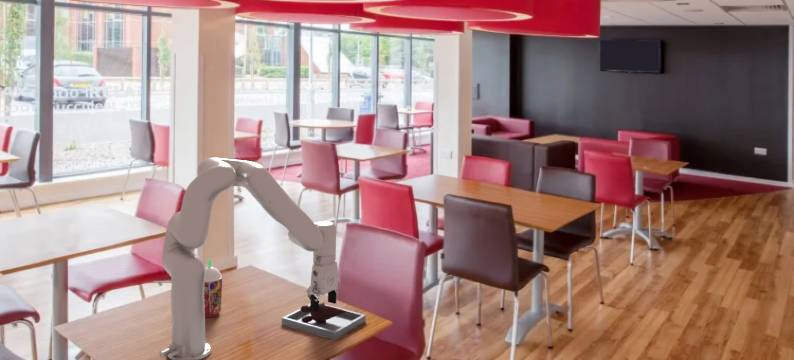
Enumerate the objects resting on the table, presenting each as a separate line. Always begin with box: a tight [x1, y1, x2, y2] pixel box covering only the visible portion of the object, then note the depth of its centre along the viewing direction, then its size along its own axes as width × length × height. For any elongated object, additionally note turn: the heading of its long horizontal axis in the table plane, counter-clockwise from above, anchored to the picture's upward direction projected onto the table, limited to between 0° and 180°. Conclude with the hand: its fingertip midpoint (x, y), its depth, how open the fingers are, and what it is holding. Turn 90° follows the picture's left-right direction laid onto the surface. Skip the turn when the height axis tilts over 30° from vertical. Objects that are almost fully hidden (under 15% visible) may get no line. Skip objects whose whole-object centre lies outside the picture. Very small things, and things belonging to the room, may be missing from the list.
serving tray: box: [281, 302, 367, 341], centre depth 223 cm, size 18×22×2 cm
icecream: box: [300, 302, 346, 323], centre depth 222 cm, size 7×7×15 cm
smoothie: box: [204, 258, 223, 318], centre depth 226 cm, size 8×8×20 cm
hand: (323, 306), depth 222 cm, fingers open, 9 cm apart
